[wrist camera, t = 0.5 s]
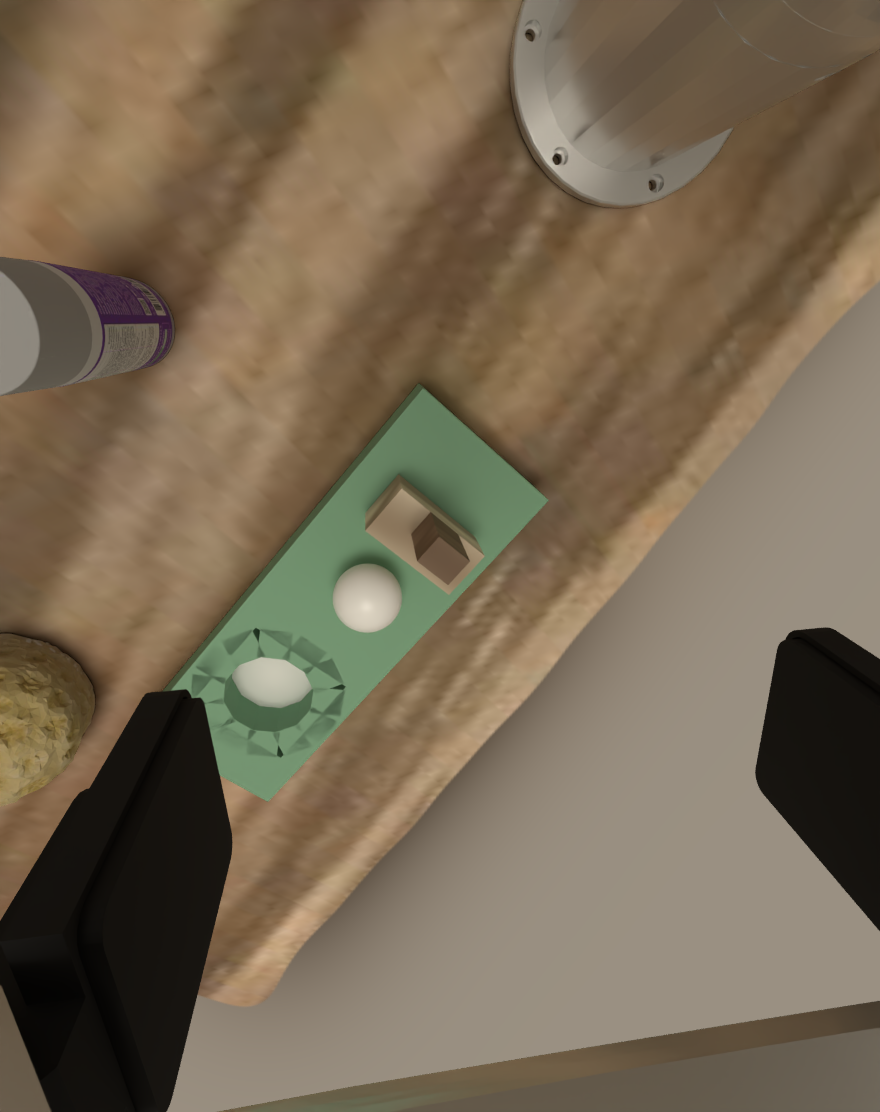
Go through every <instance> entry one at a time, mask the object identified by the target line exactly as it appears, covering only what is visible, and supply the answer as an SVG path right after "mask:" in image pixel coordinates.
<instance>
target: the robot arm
mask: <svg viewBox="0 0 880 1112" xmlns="http://www.w3.org/2000/svg"><path fill="white" fill-rule="evenodd" d="M526 33H530V34H532V37H533V41H532V42H530V41H529V40H527V39H526V37H525V34H526ZM878 50H880V0H523V2H522V5H521V8H520V12H519V15H518V18H517V21H516V24H515V28H514V34H513V40H512V47H511V53H510V88H511V94H512V101H513V107H514V113H515V116H516V119H517V122H518V125H519V128H520V131H521V134H522V137H523V139H524V141H525V143H526V145H527V147H528V149H529V151H530V152H531V154H532V156H533V158H534V160H535V161H536V162H537V164H538V165H539V166H540V167H541V169H542V170H543V171H544V172H545V174H546V175H547V176H548V177H549V178H550V179H551V180H552V181H553V182H554V183H556V184H557V185H558V186H559V187H560V188H562V189H563V190H564V191H565V192H567V193H569V194H570V195H572V196H574V197H576V198H578V199H580V200H582V201H584V202H586V203H590V204H594V205H598V206H602V207H608V208H629V207H634V206H639V205H645V204H648V203H651V202H654V201H656V200H659V199H661V198H664V197H666V196H667V195H669V194H671V193H673V192H675V191H677V190H678V189H680V188H682V187H684V186H685V185H686V184H688V183H689V182H690V181H691V180H692V179H694V178H695V177H696V176H697V175H699V174H700V173H701V172H702V171H703V170H704V169H705V168H706V167H707V165H708V164H709V163H710V162H711V161H712V160H713V159H714V157H715V156H716V155H717V154H718V153H719V151H720V150H721V148H722V147H723V145H724V143H725V142H726V140H727V139H728V137H729V135H730V134H731V132H732V131H733V128H734V126H736V125H738V124H740V123H742V122H743V121H745V120H747V119H749V118H751V117H753V116H755V115H757V114H759V113H761V112H763V111H764V110H766V109H768V108H770V107H772V106H774V105H776V104H778V103H780V102H782V101H784V100H786V99H787V98H789V97H791V96H793V95H795V94H797V93H799V92H801V91H803V90H805V89H807V88H808V87H810V86H812V85H814V84H816V83H818V82H820V81H822V80H824V79H826V78H828V77H830V76H831V75H833V74H835V73H837V72H839V71H841V70H843V69H845V68H847V67H849V66H850V65H852V64H854V63H856V62H858V61H860V60H862V59H864V58H865V57H867V56H869V55H871V54H872V53H874V52H876V51H878ZM553 155H556V156H558V157H559V165H555V164H554V163H553V161H552V157H553ZM649 181H650V182H652V184H653V189H652V191H651V190H650V189H649V186H648V183H649ZM755 773H756V780H757V783H758V786H759V788H760V790H761V791H762V793H763V794H764V795H765V797H766V798H767V799H768V800H769V801H770V803H771V804H772V805H773V806H774V807H775V808H776V810H778V812H779V813H780V814H781V815H782V817H783V818H784V819H785V820H786V821H787V823H788V824H789V825H790V826H791V827H792V828H793V830H794V831H795V832H796V833H797V834H798V835H799V837H800V838H801V839H802V840H803V841H804V843H805V844H806V845H807V846H808V847H809V848H810V850H811V851H812V852H813V853H814V854H815V855H816V857H817V858H818V859H819V860H820V861H821V862H822V864H823V865H824V866H825V867H826V868H827V870H828V871H829V872H830V873H831V874H832V875H833V876H834V878H835V879H836V880H837V881H838V883H839V884H840V885H841V886H842V887H843V888H844V890H845V891H846V892H847V893H848V894H849V895H850V897H851V898H852V899H853V900H854V901H855V902H856V904H857V905H858V906H859V907H860V908H861V909H862V911H863V912H864V913H865V914H866V915H867V917H868V918H869V919H870V920H871V921H872V923H873V924H874V925H875V926H876V927H877V928H878V930H879V931H880V659H879V658H877V657H875V656H874V655H873V654H871V653H870V652H868V651H867V650H865V649H863V648H862V647H860V646H859V645H857V644H856V643H854V642H852V641H851V640H850V639H848V638H847V637H845V636H843V635H842V634H840V633H839V632H837V631H836V630H834V629H831V628H815V629H805V630H794V631H792V632H790V633H789V634H788V636H787V637H786V640H784V641H782V642H781V643H780V644H779V646H778V649H777V654H776V659H775V665H774V670H773V676H772V681H771V687H770V693H769V698H768V704H767V709H766V714H765V720H764V726H763V731H762V736H761V742H760V747H759V753H758V758H757V764H756V772H755ZM231 855H232V832H231V827H230V822H229V818H228V813H227V808H226V803H225V799H224V794H223V789H222V784H221V780H220V775H219V770H218V765H217V761H216V756H215V751H214V746H213V742H212V737H211V732H210V727H209V723H208V718H207V713H206V708H205V704H204V701H203V700H202V698H200V697H198V698H192V697H191V694H190V693H189V691H188V690H186V689H182V690H172V691H161V692H151V693H147V694H145V696H144V697H143V698H142V700H141V701H140V703H139V705H138V707H137V708H136V710H135V712H134V713H133V715H132V717H131V719H130V720H129V722H128V724H127V725H126V727H125V729H124V730H123V732H122V734H121V736H120V737H119V739H118V741H117V742H116V744H115V746H114V747H113V749H112V751H111V753H110V754H109V756H108V758H107V759H106V761H105V763H104V765H103V766H102V768H101V770H100V771H99V773H98V775H97V776H96V778H95V780H94V782H93V783H92V785H91V787H90V788H89V789H86V790H84V791H82V792H80V793H79V794H78V795H77V797H76V798H75V799H74V800H73V802H72V803H71V805H70V807H69V808H68V810H67V812H66V813H65V815H64V817H63V818H62V820H61V822H60V823H59V825H58V827H57V828H56V830H55V831H54V833H53V835H52V836H51V838H50V840H49V841H48V843H47V845H46V846H45V848H44V850H43V851H42V853H41V855H40V856H39V858H38V860H37V861H36V863H35V864H34V866H33V868H32V869H31V871H30V873H29V874H28V876H27V878H26V879H25V881H24V883H23V884H22V886H21V888H20V889H19V891H18V893H17V894H16V896H15V897H14V899H13V901H12V902H11V904H10V906H9V907H8V909H7V911H6V912H5V914H4V916H3V917H2V919H1V921H0V1112H166V1111H167V1109H168V1107H169V1105H170V1102H171V1099H172V1096H173V1092H174V1087H175V1084H176V1079H177V1075H178V1071H179V1067H180V1063H181V1059H182V1054H183V1051H184V1047H185V1043H186V1039H187V1035H188V1031H189V1027H190V1023H191V1019H192V1014H193V1010H194V1006H195V1002H196V998H197V994H198V990H199V986H200V982H201V978H202V974H203V970H204V966H205V962H206V958H207V954H208V949H209V945H210V941H211V937H212V933H213V929H214V925H215V921H216V917H217V913H218V909H219V905H220V901H221V897H222V893H223V889H224V884H225V880H226V876H227V872H228V868H229V864H230V860H231ZM219 1112H880V1001H876V1002H870V1003H863V1004H856V1005H850V1006H843V1007H837V1008H831V1009H825V1010H818V1011H812V1012H806V1013H799V1014H793V1015H787V1016H780V1017H774V1018H768V1019H762V1020H755V1021H749V1022H744V1023H736V1024H731V1025H724V1026H718V1027H712V1028H705V1029H700V1030H693V1031H687V1032H681V1033H674V1034H668V1035H663V1036H656V1037H649V1038H643V1039H637V1040H631V1041H625V1042H618V1043H612V1044H606V1045H600V1046H594V1047H587V1048H581V1049H576V1050H569V1051H564V1052H558V1053H551V1054H546V1055H539V1056H534V1057H527V1058H521V1059H515V1060H509V1061H504V1062H497V1063H491V1064H485V1065H479V1066H473V1067H467V1068H461V1069H456V1070H449V1071H444V1072H437V1073H431V1074H425V1075H419V1076H414V1077H408V1078H402V1079H395V1080H390V1081H384V1082H378V1083H371V1084H366V1085H360V1086H353V1087H348V1088H343V1089H337V1090H332V1091H326V1092H321V1093H316V1094H310V1095H305V1096H300V1097H294V1098H289V1099H283V1100H278V1101H273V1102H267V1103H262V1104H257V1105H251V1106H246V1107H241V1108H235V1109H230V1110H224V1111H219Z"/></svg>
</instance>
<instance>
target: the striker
mask: <svg viewBox="0 0 880 1112" xmlns="http://www.w3.org/2000/svg"><path fill="white" fill-rule="evenodd" d="M365 531H366V532H367V533H369V534H370V535H371V536H373V537H374V538H375V539H377V540H378V541H379V542H381V543H382V544H383V545H384V546H386V547H387V548H388V549H390V550H391V551H392V552H394V553H395V554H396V555H397V556H399V557H400V558H401V559H403V560H404V561H405V562H407V563H408V564H409V565H411V566H412V567H413V568H414V569H416V570H417V571H418V572H420V573H421V574H422V575H424V576H425V577H426V578H428V579H429V580H430V581H431V582H433V583H434V584H435V585H437V586H438V587H439V588H441V589H442V590H443V591H444V592H446V593H447V594H448V595H449V594H450V593H451V592H452V591H453V590H454V589H455V588H456V587H457V586H458V585H459V584H460V583H461V581H462V580H463V579H464V578H465V577H466V576H467V575H468V574H469V573H470V572H471V571H472V570H473V568H474V567H475V566H476V565H477V564H478V563H479V562H480V561H481V560H482V559H483V558H484V557H485V555H484V553H483V551H482V549H481V547H480V546H479V544H478V542H477V540H476V538H475V537H474V536H473V535H472V534H471V533H470V532H468V531H467V530H466V529H465V528H464V527H462V526H461V525H460V524H459V523H457V522H456V521H455V520H454V519H453V518H451V517H450V516H449V515H448V514H446V513H445V512H444V511H443V510H442V509H440V508H439V507H438V506H437V505H436V504H434V503H433V502H432V501H431V500H429V499H428V498H427V497H426V496H425V495H423V494H422V493H421V492H420V491H419V490H417V489H416V488H415V487H414V486H412V485H411V484H410V483H409V482H408V481H406V480H405V479H404V478H403V477H401V476H400V475H399V474H398V475H397V477H396V478H395V479H394V480H393V481H392V482H391V484H390V485H389V486H388V487H387V488H386V490H385V491H384V492H383V493H382V494H381V495H380V497H379V498H378V499H377V500H376V501H375V502H374V504H373V505H372V506H371V507H370V508H369V509H368V511H367V512H366V513H365Z"/></svg>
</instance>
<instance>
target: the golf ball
mask: <svg viewBox="0 0 880 1112" xmlns="http://www.w3.org/2000/svg"><path fill="white" fill-rule="evenodd" d="M401 604H402V592H401V588H400V585H399V583H398V581H397V579H396V578H395V576H394V575H393V574H392V573H391V572H390V571H389V570H387V569H385V568H384V567H382V566H379V565H376V564H369V563H368V564H359V565H356V566H354V567H351V568H350V569H348V570H347V571H345V572H344V573H343V574H342V575H341V576H340V578H339V579H338V581H337V582H336V585H335V587H334V591H333V606H334V609H335V612H336V614H337V616H338V618H339V619H340V620H341V621H342V622H343V623H344V624H345V625H346V626H347V627H349V628H351V629H353V630H355V631H358V632H364V633H370V632H376V631H379V630H381V629H384V628H385V627H387V626H388V625H390V624H391V623H392V622H393V620H394V619H395V618H396V617H397V615H398V613H399V611H400V608H401Z"/></svg>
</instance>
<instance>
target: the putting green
mask: <svg viewBox="0 0 880 1112" xmlns="http://www.w3.org/2000/svg"><path fill="white" fill-rule="evenodd" d="M398 474H399V475H400V476H401V477H403V478H404V479H405V480H406V481H408V482H409V483H410V484H411V485H412V486H414V487H415V488H416V489H417V490H419V491H420V492H421V493H422V494H423V495H425V496H426V497H427V498H428V499H429V500H431V501H432V502H433V503H434V504H436V505H437V506H438V507H439V508H440V509H442V510H443V511H444V512H445V513H446V514H448V515H449V516H450V517H451V518H453V519H454V520H455V521H456V522H457V523H459V524H460V525H461V526H462V527H464V528H465V529H466V530H467V531H468V532H470V533H471V534H472V535H473V536H474V537H475V538H476V540H477V542H478V544H479V546H480V547H481V549H482V551H483V553H484V555H485V557H484V558H483V559H482V560H481V561H480V562H479V563H478V564H477V565H476V566H475V567H474V568H473V570H472V571H471V572H470V573H469V574H468V575H467V576H466V577H465V578H464V579H463V580H462V581H461V583H460V584H459V585H458V586H457V587H456V588H455V589H454V590H453V591H452V592H451V593H450V594H449V595H448V594H447V593H446V592H444V591H443V590H442V589H441V588H439V587H438V586H437V585H435V584H434V583H433V582H431V581H430V580H429V579H428V578H426V577H425V576H424V575H422V574H421V573H420V572H418V571H417V570H416V569H414V568H413V567H412V566H411V565H409V564H408V563H407V562H405V561H404V560H403V559H401V558H400V557H399V556H397V555H396V554H395V553H394V552H392V551H391V550H390V549H388V548H387V547H386V546H384V545H383V544H382V543H381V542H379V541H378V540H377V539H375V538H374V537H373V536H371V535H370V534H369V533H367V532H366V531H365V513H366V512H367V511H368V509H369V508H370V507H371V506H372V505H373V504H374V502H375V501H376V500H377V499H378V498H379V497H380V495H381V494H382V493H383V492H384V491H385V490H386V488H387V487H388V486H389V485H390V484H391V482H392V481H393V480H394V479H395V478H396V477H397V475H398ZM548 501H549V500H548V499H547V498H546V497H545V496H544V495H543V494H542V493H541V492H540V491H539V490H538V489H536V488H535V487H534V486H533V485H532V484H531V483H530V482H529V481H528V480H527V479H525V478H524V477H523V476H522V475H521V474H520V473H519V472H518V471H516V470H515V469H514V468H513V467H512V466H511V465H510V464H509V463H508V462H506V461H505V460H504V459H503V458H502V457H501V456H500V455H499V454H498V453H496V452H495V451H494V450H493V449H492V448H491V447H490V446H489V445H487V444H486V443H485V442H484V441H483V440H482V439H481V438H480V437H479V436H477V435H476V434H475V433H474V432H473V431H472V430H471V429H470V428H468V427H467V426H466V425H465V424H464V423H463V422H462V421H461V420H460V419H458V418H457V417H456V416H455V415H454V414H453V413H452V412H451V411H450V410H448V409H447V408H446V407H445V406H444V405H443V404H442V403H441V402H439V401H438V400H437V399H436V398H435V397H434V396H433V395H432V394H431V393H429V392H428V391H427V390H426V389H425V388H424V387H423V386H422V385H421V384H419V383H418V384H417V386H416V387H415V388H414V389H413V390H412V392H411V393H410V394H409V395H408V396H407V398H406V399H405V400H404V401H403V403H402V404H401V405H400V406H399V407H398V409H397V410H396V411H395V412H394V413H393V415H392V416H391V417H390V418H389V419H388V421H387V422H386V423H385V424H384V425H383V427H382V428H381V429H380V430H379V431H378V433H377V434H376V435H375V436H374V437H373V439H372V440H371V441H370V442H369V443H368V445H367V446H366V447H365V448H364V449H363V451H362V452H361V453H360V454H359V455H358V457H357V458H356V459H355V460H354V461H353V463H352V464H351V465H350V466H349V467H348V469H347V470H346V471H345V472H344V473H343V475H342V476H341V477H340V478H339V479H338V481H337V482H336V483H335V484H334V485H333V487H332V488H331V489H330V490H329V491H328V493H327V494H326V495H325V496H324V498H323V499H322V500H321V501H320V502H319V504H318V505H317V506H316V507H315V508H314V510H313V511H312V512H311V513H310V514H309V516H308V517H307V518H306V519H305V520H304V522H303V523H302V524H301V525H300V526H299V528H298V529H297V530H296V531H295V532H294V534H293V535H292V536H291V537H290V538H289V540H288V541H287V542H286V543H285V544H284V546H283V547H282V548H281V549H280V550H279V552H278V553H277V554H276V555H275V556H274V558H273V559H272V560H271V561H270V562H269V564H268V565H267V566H266V567H265V568H264V570H263V571H262V572H261V573H260V574H259V576H258V577H257V578H256V579H255V580H254V582H253V583H252V584H251V585H250V586H249V588H248V589H247V590H246V591H245V593H244V594H243V595H242V596H241V597H240V599H239V600H238V601H237V602H236V603H235V605H234V606H233V607H232V608H231V609H230V611H229V612H228V613H227V614H226V615H225V617H224V618H223V619H222V620H221V621H220V623H219V624H218V625H217V626H216V627H215V629H214V630H213V631H212V632H211V633H210V635H209V636H208V637H207V638H206V639H205V641H204V642H203V643H202V644H201V645H200V647H199V648H198V649H197V650H196V651H195V653H194V654H193V655H192V656H191V657H190V659H189V660H188V661H187V662H186V663H185V665H184V666H183V667H182V668H181V669H180V671H179V672H178V673H177V674H176V675H175V677H174V678H173V679H172V680H171V681H170V683H169V684H168V685H167V686H166V688H165V689H164V690H163V691H172V690H182V689H186V690H188V691H189V693H190V694H191V697H192V698H198V697H200V698H202V700H203V701H204V704H205V708H206V713H207V718H208V723H209V727H210V732H211V737H212V742H213V746H214V751H215V756H216V761H217V765H218V770H219V775H220V776H222V777H224V778H226V779H227V780H229V781H231V782H233V783H235V784H237V785H238V786H240V787H242V788H244V789H246V790H247V791H249V792H251V793H253V794H255V795H257V796H258V797H260V798H262V799H264V800H266V801H267V802H268V801H269V800H270V799H271V798H272V797H273V796H274V795H275V794H276V793H277V792H278V791H279V790H280V788H281V787H282V786H283V785H284V784H285V783H286V782H287V781H288V780H289V779H290V778H291V777H292V776H293V775H294V773H295V772H296V771H297V770H298V769H299V768H300V767H301V766H302V765H303V764H304V763H305V762H306V761H307V759H308V758H309V757H310V756H311V755H312V754H313V753H314V752H315V751H316V750H317V749H318V748H319V747H320V746H321V744H322V743H323V742H324V741H325V740H326V739H327V738H328V737H329V736H330V735H331V734H332V733H333V732H334V730H335V729H336V728H337V727H338V726H339V725H340V724H341V723H342V722H343V721H344V720H345V719H346V718H347V717H348V715H349V714H350V713H351V712H352V711H353V710H354V709H355V708H356V707H357V706H358V705H359V704H360V703H361V701H362V700H363V699H364V698H365V697H366V696H367V695H368V694H369V693H370V692H371V691H372V690H373V689H374V688H375V686H376V685H377V684H378V683H379V682H380V681H381V680H382V679H383V678H384V677H385V676H386V675H387V674H388V672H389V671H390V670H391V669H392V668H393V667H394V666H395V665H396V664H397V663H398V662H399V661H400V660H401V659H402V657H403V656H404V655H405V654H406V653H407V652H408V651H409V650H410V649H411V648H412V647H413V646H414V645H415V643H416V642H417V641H418V640H419V639H420V638H421V637H422V636H423V635H424V634H425V633H426V632H427V631H428V630H429V628H430V627H431V626H432V625H433V624H434V623H435V622H436V621H437V620H438V619H439V618H440V617H441V616H442V614H443V613H444V612H445V611H446V610H447V609H448V608H449V607H450V606H451V605H452V604H453V603H454V602H455V601H456V599H457V598H458V597H459V596H460V595H461V594H462V593H463V592H464V591H465V590H466V589H467V588H468V587H469V585H470V584H471V583H472V582H473V581H474V580H475V579H476V578H477V577H478V576H479V575H480V574H481V573H482V572H483V570H484V569H485V568H486V567H487V566H488V565H489V564H490V563H491V562H492V561H493V560H494V559H495V558H496V556H497V555H498V554H499V553H500V552H501V551H502V550H503V549H504V548H505V547H506V546H507V545H508V544H509V542H510V541H511V540H512V539H513V538H514V537H515V536H516V535H517V534H518V533H519V532H520V531H521V530H522V529H523V527H524V526H525V525H526V524H527V523H528V522H529V521H530V520H531V519H532V518H533V517H534V516H535V515H536V513H537V512H538V511H539V510H540V509H541V508H542V507H543V506H544V505H545V504H546V503H547V502H548ZM368 563H369V564H376V565H379V566H382V567H384V568H385V569H387V570H389V571H390V572H391V573H392V574H393V575H394V576H395V578H396V579H397V581H398V583H399V585H400V588H401V592H402V604H401V608H400V611H399V613H398V615H397V617H396V618H395V619H394V620H393V622H392V623H391V624H390V625H388V626H387V627H385V628H384V629H381V630H379V631H376V632H370V633H364V632H358V631H355V630H353V629H351V628H349V627H347V626H346V625H345V624H344V623H343V622H342V621H341V620H340V619H339V618H338V616H337V614H336V612H335V609H334V606H333V591H334V587H335V585H336V582H337V581H338V579H339V578H340V576H341V575H342V574H343V573H344V572H345V571H347V570H348V569H350V568H351V567H354V566H356V565H359V564H368Z"/></svg>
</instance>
